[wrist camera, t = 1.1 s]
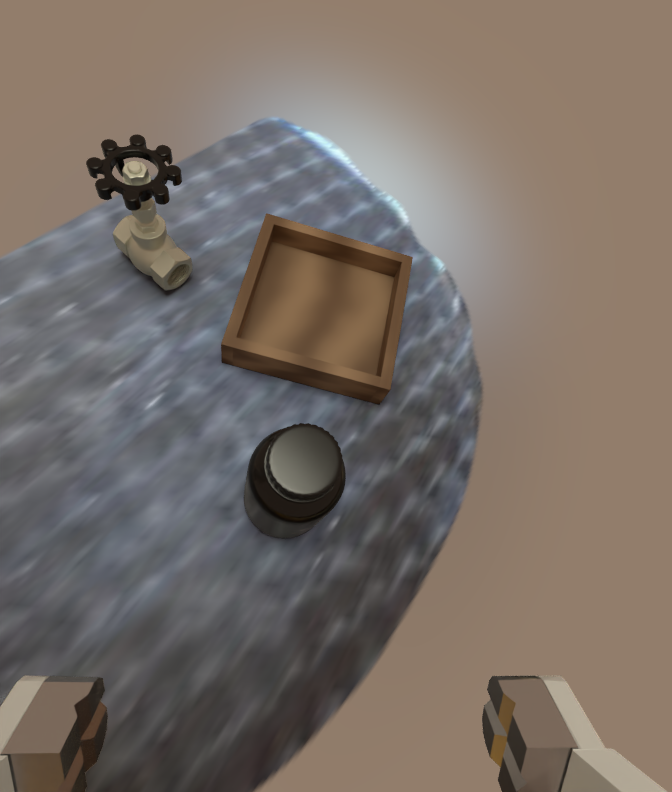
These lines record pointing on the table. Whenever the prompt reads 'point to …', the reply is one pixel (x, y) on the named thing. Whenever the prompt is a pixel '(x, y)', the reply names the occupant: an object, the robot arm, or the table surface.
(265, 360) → the walnut tray
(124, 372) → the table surface
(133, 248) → the valve
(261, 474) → the supplement bottle
